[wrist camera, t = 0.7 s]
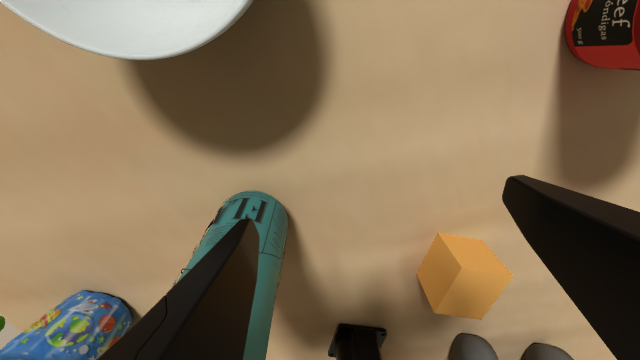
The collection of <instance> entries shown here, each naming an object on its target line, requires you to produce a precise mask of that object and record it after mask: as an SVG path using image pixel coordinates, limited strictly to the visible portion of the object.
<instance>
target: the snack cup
mask: <svg viewBox="0 0 640 360" xmlns="http://www.w3.org/2000/svg"><path fill="white" fill-rule="evenodd" d="M132 321H133V318H132V317H131V314H130V312H129V310H128V308H127V307H126V306H125V305H124V304H123V303H122V302H121V300H120V299H119V298H116V297H111V296H109V295H107V294H103V293H98V292H93V293H91V292H89V291H86V290H83V291H81V292H79V293H77V294H75V295H72V296H70V297H68V298H66V299H65V300H63V301H62V302H61V303H60V304H58V305H57V306H56V307H54V308H53V309H52V310H50V311H49V312H48V313H46V314H45V315H44V316H43V317H41V318H40V319H39V320H37V321H36V322H35V323H33V324H32V325H31V326H29V327H28V328H27V329H26V330H25V331H23V332H22V333H21V334H20V335H18V336H17V337H15V338H14V339H12V340H11V341H10V342H9V343H8V344H7V345H6V346H5V347H3V348H2V349H1V350H0V360H96V359H98V358H99V357H100V356H101V355H102V354H103V353H104V352H105V351H106V350H108V349H109V348H110V347H111V346H112V345H113V344H114V343H115V342H117V341H118V340H119V339H120V338H121V337H122V336H123V335H124V334H125V333H126V332H127V331H128V330H129V328H130V326H131V324H132ZM4 325H5V318H4V317H2V316H0V331H1V330H2V329H3V328H4Z"/></svg>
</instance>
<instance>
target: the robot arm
mask: <svg viewBox="0 0 640 360" xmlns="http://www.w3.org/2000/svg"><path fill="white" fill-rule="evenodd" d="M502 200H503V203H504V204H505V206H506V208H507V209H508V211H509V213H510V214H511V216H512V218H513V219H514V221H515V223H516V224H517V226H518V228H519V229H520V231H521V233H522V234H523V236H524V237H525V239H526V240H527V242H528V243H529V244H530V246H531V247H532V249H533V250H534V251H535V252H536V254H537V255H538V256H539V258H540V259H541V260H542V262H543V263H544V264H545V266H546V267H547V268H548V270H549V271H550V272H551V273H552V275H553V276H554V277H555V279H556V280H557V281H558V283H559V284H560V285H561V287H562V288H563V289H564V291H565V292H566V293H567V294H568V296H569V297H570V298H571V300H572V301H573V302H574V304H575V305H576V306H577V308H578V309H579V310H580V311H581V313H582V314H583V315H584V317H585V318H586V319H587V321H588V322H589V323H590V325H591V326H592V327H593V329H594V330H595V331H596V332H597V334H598V335H599V336H600V338H601V339H602V340H603V342H604V343H605V344H606V346H607V347H608V348H609V350H610V351H611V352H612V353H613V355H614V356H615V357H616V359H617V360H640V212H638V211H634V210H631V209H628V208H625V207H622V206H619V205H616V204H612V203H609V202H606V201H603V200H600V199H597V198H594V197H590V196H587V195H584V194H581V193H578V192H575V191H572V190H569V189H565V188H562V187H559V186H556V185H553V184H550V183H547V182H543V181H540V180H537V179H534V178H531V177H528V176H525V175H517V176H511V177H508V179H507V180H506V183H505V187H504V191H503V195H502ZM259 243H260V236H259V233H258V230H257V228H256V226H255V223H254V221H253V219H252V218H245V219H240V220H239V221H238V222H237V223H236V224H235V225H234V226H233V227H232V228H231V229H230V230H229V231H228V232H227V233H226V234H225V235H224V236H223V237H222V238H221V239H220V240H219V241H218V242H217V243H216V244H215V245H214V246H213V247H212V248H211V249H210V250H209V251H208V252H207V253H206V254H205V255H204V256H203V257H202V258H201V259H200V260H199V261H198V262H197V263H196V264H195V265H194V266H193V267H192V268H191V269H190V270H189V271H188V272H187V273H186V274H185V275H184V276H183V278H182V279H181V280H180V281H179V282H178V283H177V284H176V285H175V286H174V287H173V288H172V289H171V290H170V291H169V292H168V293H167V294H166V296H164V297H163V298H162V299H161V300H160V301H159V302H158V303H157V304H156V305H155V306H154V307H153V308H152V309H151V310H150V311H149V312H148V313H147V314H146V315H144V316H143V317H142V318H141V319H140V320H139V321H138V322H137V323H136V324H135V325H134V326H133V327H132V328H131V329H130V330H129V331H127V332H126V333H125V334H124V335H123V336H122V337H121V338H120V339H119V340H118V341H117V342H115V343H114V344H113V345H112V346H111V347H110V348H109V349H108V350H106V351H105V352H104V353H103V354H102V355H101V356H100V357H99V358H98V359H96V360H243V357H244V351H245V345H246V340H247V334H248V328H249V323H250V317H251V311H252V306H253V300H254V294H255V289H256V283H257V275H258V260H259ZM386 336H387V332H386V330H385V329H379V328H371V327H363V326H355V325H347V324H339V325H338V327H337V329H336V332H335V335H334V337H333V340H332V342H331V345H330V348H329V350H328V356H330V357H336V360H382V357H381V352H380V347H381V345H382V343H383V342H384V340H385V338H386Z"/></svg>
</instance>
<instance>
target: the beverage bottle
mask: <svg viewBox="0 0 640 360" xmlns="http://www.w3.org/2000/svg"><path fill="white" fill-rule="evenodd" d="M231 197H232V196H231ZM228 199H229V198H228ZM217 212H218V214H216V215H217V216H216V218H215V220H213V221H214V222H213V221H211V223H210V225H209V226H208V228H209V227H210V226H211V227H210V229H209V230H208V232H207V234H206V235H205V234H204V235H205V237H204V236H203V237H204V239H203V238H202V239H203V240H201V241H202V242H200V245H199V247H197V246H196V247H197V248H198V249H197V250H195V249H196V248H195V249H194V250H195V251H196V252H194V251H193V253H195V254H194V255H193V257H192V259H191V260H190V262H189V264H188V265H187V267H186V269H182V270H184V272H183V273H182V270H181V273H182V275H181V277H180V279H179V280H178V282H179V281H180V280H181V279H182V278H183V276H184V275H185V274H186V273H187V272H188V271H189V270H190V269H191V268H192V267H193V266H194V265H195V264H196V263H197V262H198V261H199V260H200V259H201V258H202V257H203V256H204V255H205V254H206V253H207V252H208V251H209V250H210V249H211V248H212V247H213V246H214V245H215V244H216V243H217V242H218V241H219V240H220V239H221V238H222V237H223V236H224V235H225V234H226V233H227V232H228V231H229V230H230V229H231V228H232V227H233V226H234V225H235V224H236V223H237V222H238V221H239V220H240V219H245V218H252V219H253V221H254V223H255V226H256V228H257V230H258V233H259V236H260V243H259V260H258V275H257V283H256V289H255V294H254V300H253V306H252V311H251V317H250V323H249V328H248V334H247V340H246V345H245V351H244V357H243V360H265V359H266V353H267V347H268V340H269V334H270V328H271V322H272V316H273V309H274V303H275V297H276V291H277V285H279V284H278V279H279V275H280V269H281V264H282V258H283V252H284V246H285V244H286V243H285V241H287V240H286V235H287V229H288V218H287V216H288V215H286V214H287V213H286V211H285V209H284V208H283V206H282V205H281V203H280V202H279V201H278V200H276V199H275V198H274V197H272V196H270V195H269V194H266V193H263V192H260V191H245V192H241V193H238V194H236V195H235V196H233V197H232V198H230V199H229V200H228V201H227V202H226V203H225V204H224V205H223V206H222V207H221V208H220V209H219V210H218V211H217ZM208 228H207V229H208ZM207 229H206V231H207ZM206 231H205V233H206ZM197 245H198V244H197ZM285 247H286V246H285ZM284 254H285V253H284ZM283 260H284V259H283ZM282 266H283V265H282ZM281 273H282V272H281ZM179 274H180V273H179ZM280 279H281V278H280ZM178 282H177V283H178ZM174 283H175V284H176V282H174ZM174 286H175V285H174ZM174 286H173V287H174ZM171 287H172V286H171Z"/></svg>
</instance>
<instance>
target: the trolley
mask: <svg viewBox="0 0 640 360" xmlns="http://www.w3.org/2000/svg"><path fill="white" fill-rule="evenodd" d="M452 360H498V357H497V355H496V353H495V351H494V349H493V348H492V346H491V345H490V344H489V343H488V342H487V341H486V340H485V339H484V338H482V337H480V336H474V335H466V334H460V335H458V336H457V337H456V338H455V339H454V341H453V344H452ZM524 360H574V359H573V358H572V357H571V356H570V355H569V354H568V353H567V352H565V351H564V350H562V349H560V348H558V347H556V346H551V345H543V344H533V345H531V346H529V347H528V348H527V350H526V352H525V355H524Z"/></svg>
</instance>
